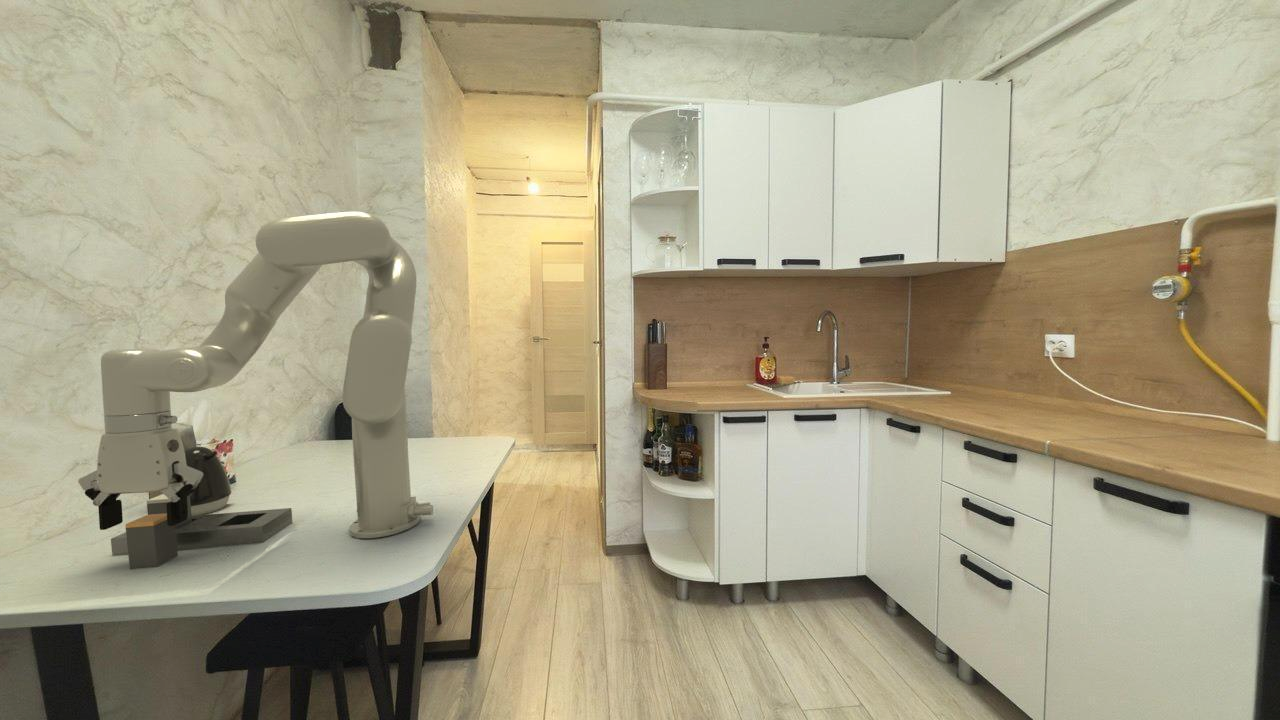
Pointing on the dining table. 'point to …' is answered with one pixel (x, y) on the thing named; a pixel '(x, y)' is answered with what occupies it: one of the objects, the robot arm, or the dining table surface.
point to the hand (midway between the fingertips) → (145, 524)
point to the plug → (150, 541)
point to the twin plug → (159, 507)
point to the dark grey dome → (208, 481)
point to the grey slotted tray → (222, 530)
